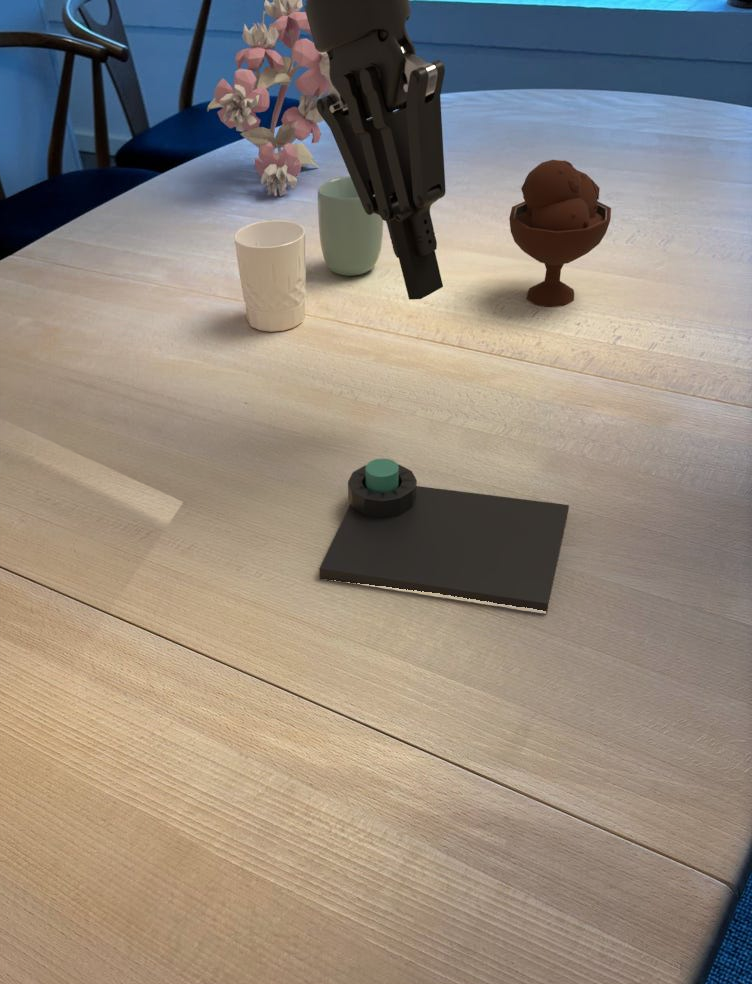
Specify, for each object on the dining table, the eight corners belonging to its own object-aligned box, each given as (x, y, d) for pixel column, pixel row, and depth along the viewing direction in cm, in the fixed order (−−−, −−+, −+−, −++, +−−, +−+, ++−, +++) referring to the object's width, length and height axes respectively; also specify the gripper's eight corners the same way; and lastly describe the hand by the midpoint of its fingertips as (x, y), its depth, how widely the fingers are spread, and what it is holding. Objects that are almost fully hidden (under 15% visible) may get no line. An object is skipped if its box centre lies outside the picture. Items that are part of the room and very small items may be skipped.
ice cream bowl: (580, 324, 108) (601, 181, 98) (486, 306, 113) (496, 169, 103) (613, 286, 114) (635, 148, 104) (522, 271, 119) (535, 138, 109)
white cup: (251, 304, 118) (243, 220, 112) (315, 305, 117) (310, 219, 110) (236, 334, 113) (226, 247, 106) (303, 335, 111) (298, 247, 104)
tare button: (401, 477, 84) (402, 460, 83) (394, 495, 83) (394, 478, 81) (370, 473, 85) (370, 456, 84) (362, 491, 83) (361, 474, 82)
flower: (163, 174, 151) (182, 15, 129) (256, 117, 161) (288, -40, 139) (259, 251, 148) (296, 101, 126) (348, 188, 158) (396, 39, 136)
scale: (568, 514, 83) (572, 484, 81) (546, 615, 74) (550, 585, 72) (359, 487, 88) (358, 459, 86) (315, 579, 80) (313, 550, 77)
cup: (312, 279, 122) (308, 196, 115) (332, 255, 127) (329, 174, 120) (372, 284, 120) (371, 200, 113) (390, 259, 125) (390, 177, 118)
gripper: (262, 14, 76) (346, 311, 87) (369, -34, 66) (449, 309, 77) (333, -12, 79) (406, 279, 90) (447, -62, 69) (512, 273, 80)
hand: (426, 292), depth 84 cm, fingers closed
